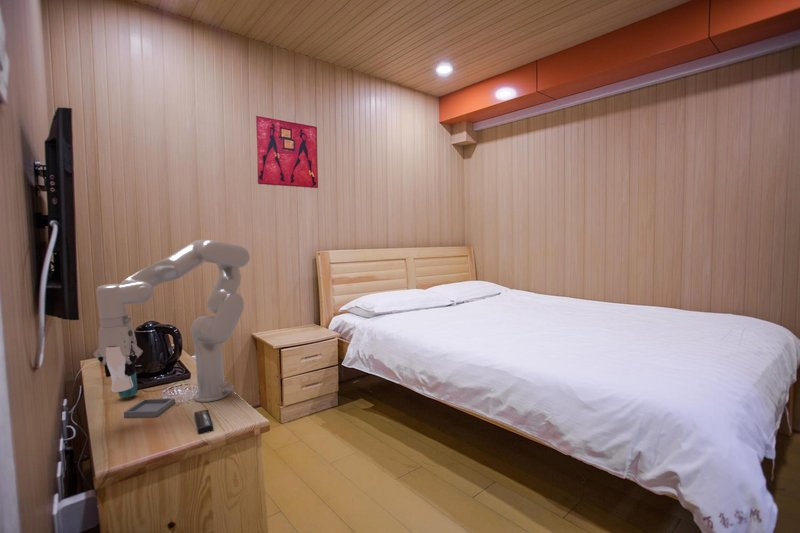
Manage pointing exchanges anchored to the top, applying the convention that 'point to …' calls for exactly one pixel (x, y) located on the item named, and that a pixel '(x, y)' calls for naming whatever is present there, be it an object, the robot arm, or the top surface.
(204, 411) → the multiport hub
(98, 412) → the top surface
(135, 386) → the beverage bottle
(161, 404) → the tray
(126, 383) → the beer glass
